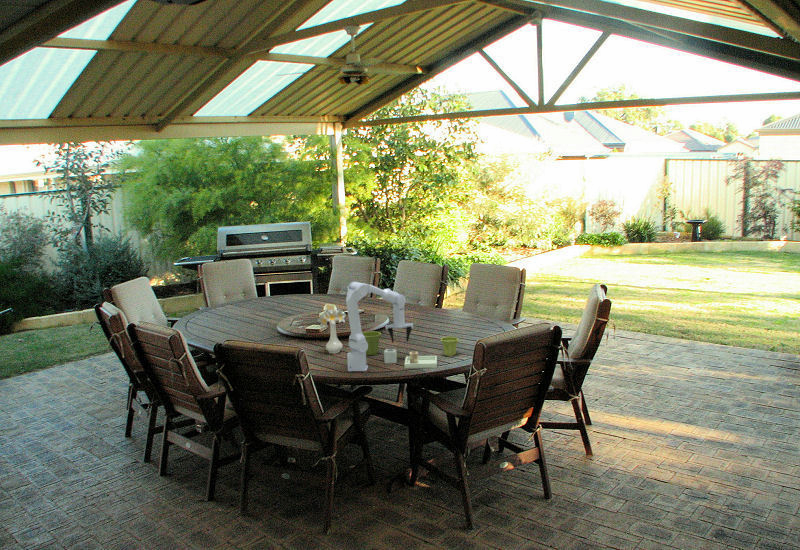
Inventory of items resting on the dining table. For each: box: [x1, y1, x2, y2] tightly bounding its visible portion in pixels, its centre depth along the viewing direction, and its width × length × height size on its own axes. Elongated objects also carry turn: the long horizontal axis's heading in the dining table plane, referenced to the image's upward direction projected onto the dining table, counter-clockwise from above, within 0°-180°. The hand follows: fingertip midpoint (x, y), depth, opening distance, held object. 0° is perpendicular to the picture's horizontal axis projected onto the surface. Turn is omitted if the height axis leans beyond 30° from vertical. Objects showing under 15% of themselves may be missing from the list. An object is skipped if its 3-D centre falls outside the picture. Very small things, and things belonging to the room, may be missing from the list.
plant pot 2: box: [440, 336, 459, 357], centre depth 335 cm, size 9×9×9 cm
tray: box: [404, 355, 438, 370], centre depth 319 cm, size 16×14×2 cm
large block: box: [383, 348, 398, 364], centre depth 327 cm, size 6×6×6 cm
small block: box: [409, 351, 419, 364], centre depth 318 cm, size 4×4×6 cm
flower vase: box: [316, 306, 347, 355], centre depth 348 cm, size 13×18×25 cm
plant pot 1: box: [362, 331, 382, 356], centre depth 343 cm, size 12×12×11 cm
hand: (400, 341), depth 330 cm, fingers open, 7 cm apart
